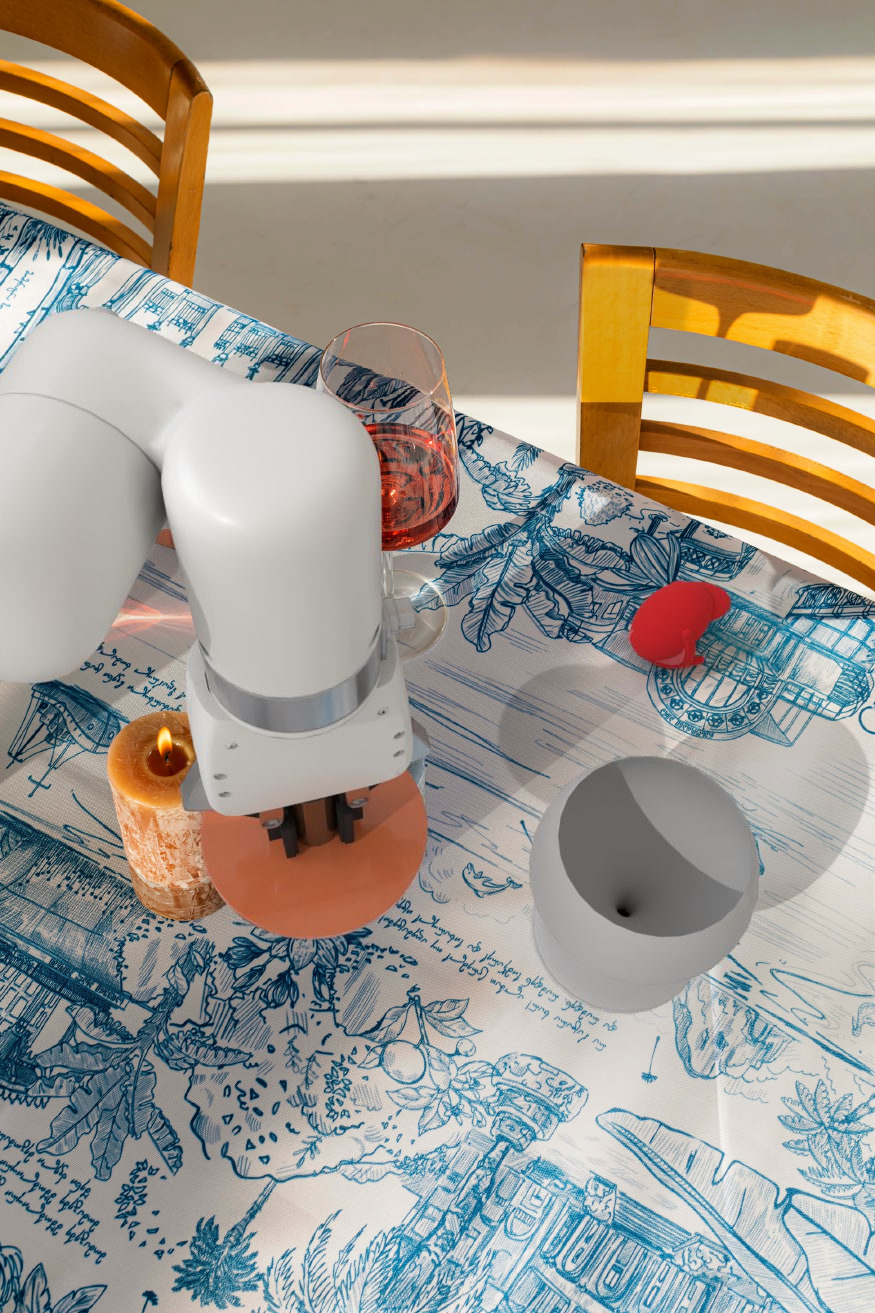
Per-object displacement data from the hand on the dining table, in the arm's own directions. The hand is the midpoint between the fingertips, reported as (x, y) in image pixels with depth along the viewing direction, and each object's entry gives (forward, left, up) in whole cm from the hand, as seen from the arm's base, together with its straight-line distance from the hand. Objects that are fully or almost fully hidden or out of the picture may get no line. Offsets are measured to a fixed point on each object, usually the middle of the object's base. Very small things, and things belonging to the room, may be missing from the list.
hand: (314, 825), depth 65 cm
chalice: (+20, +2, -19) cm, 28 cm away
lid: (0, 0, -1) cm, 1 cm away
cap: (+25, +26, -19) cm, 41 cm away
